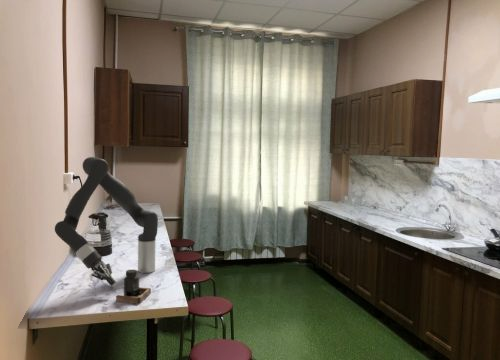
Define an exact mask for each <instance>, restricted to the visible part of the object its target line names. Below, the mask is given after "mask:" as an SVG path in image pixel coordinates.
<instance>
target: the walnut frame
mask: <svg viewBox="0 0 500 360" xmlns="http://www.w3.org/2000/svg"><path fill="white" fill-rule="evenodd" d="M151 293H152V289H151V288H150V287H142V286H141V287H140V286H139V296H138V297H133V296H124V295H122V294H121V295H120V294H119V295H118V294H116V296H115V302H119V303H130V304H139V305H140V304H142V302H143V301H144V300H145V299H146V298H148V297H149V296H150V295H151Z"/></svg>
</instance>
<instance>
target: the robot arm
mask: <svg viewBox="0 0 500 360" xmlns="http://www.w3.org/2000/svg"><path fill="white" fill-rule="evenodd" d="M82 169H83V172H84V173H85V174H86V175H87V178H86V180H85V181H84V183H83V184H82V186H80V188H79V189H78V190H77V191H76V192H75V193H74V194H73V196H72V197H71V199H70V200H69V202H68V204H67V206H66V209H65V211H64V213H65V215H64V218H63V220H61V221H58V222H56V224H55V225H54V232H55V234H56V235H57V236H58V237H59V238H60V240H62V242H64V243H65V244H66V245H68V246H69V248H70V249H71V250H72V251H73V252H74V254H75V255H76V256H77V258H78V259H79V261H81V262H82V264H83V265H85V268H87V269H91V271H92V274H91V276H92V277H94V278H96V279H98V280H100V281H106V282H107V283H108V284H109V285H110V286H114V284H116V282H117V281H116V280H115V279H114V278H113V277H112V274H113V270H112V268H111V265H110V263H107V264H106V263H105V262H104V261H102V258H103V257H102V256H101V254H100V253H99V252H98V251H97V250H96V248H94V246H93V245H91V244H90V243H89V242H88V241H87V240H86V238H85V237H84V236H83V235H81V234H79V233H78V232H77V231H76V230H77V227H78V225H79V222H80V218H81V216H82V214H83V212H84V210H85V208H86V206H87V205H88V202H89V201H90V199H91V197H92V195H93V194H94V192H95V191H96V189H97V188H98V187H99V186H101V188H102V189H103V190H104V191H105V192H106V193H107V194H108V195H109V196H110V197H111V199H112V200H113V201H115V203H116V204H117V205H119V206H120V207H121V208H122V210H124V211H125V212H126V213H127V214H128V215H129V216H130V217H131V218H132V220H133V222H135V223H136V225H137V226H139V227H141V228H143V232H142V233H140V234H139V235H138V236H137V241H138V242H137V273H140V274H141V273H142V274H149V273H153V272H155V271H156V244H157V243H156V241H157V240H156V238H157V234H158V228H159V226H158V224H159V218H158V214H157V212H155V211H151V210H146V209H144V208H143V207H141V206H140V205H139V203H138V202H137V200H136V197H135V194H134V192H133V191H132V190H131V189H130V188H129V187H128V186H127V185H126V184H125V183H123V181H121V180H120V179H118V178H116V177H115V176H113V174H111V173H109V163H108V162H107V161H106V160H105V159H103V158H100V157H96V156H95V157H94V156H90V157H89V156H88V157H86V158H85V159H84V160H83V162H82Z"/></svg>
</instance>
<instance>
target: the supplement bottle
mask: <svg viewBox="0 0 500 360" xmlns="http://www.w3.org/2000/svg"><path fill="white" fill-rule="evenodd" d="M139 287H140V277H139V276H138V269H127V270H125V277H124V278H123V296H133V297H139V296H140V293H139Z"/></svg>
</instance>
